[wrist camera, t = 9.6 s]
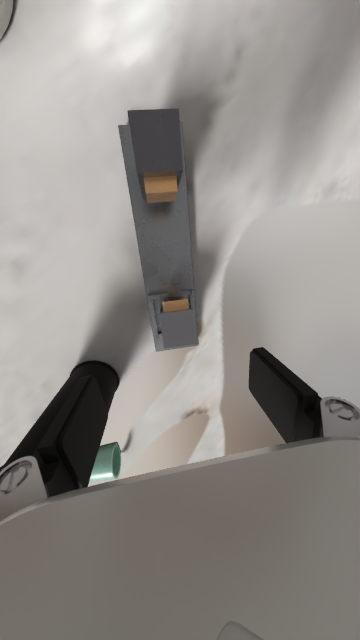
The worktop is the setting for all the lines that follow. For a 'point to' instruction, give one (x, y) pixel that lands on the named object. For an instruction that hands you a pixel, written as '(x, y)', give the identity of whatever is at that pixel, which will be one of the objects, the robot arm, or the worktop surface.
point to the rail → (159, 208)
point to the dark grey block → (178, 324)
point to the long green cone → (107, 462)
